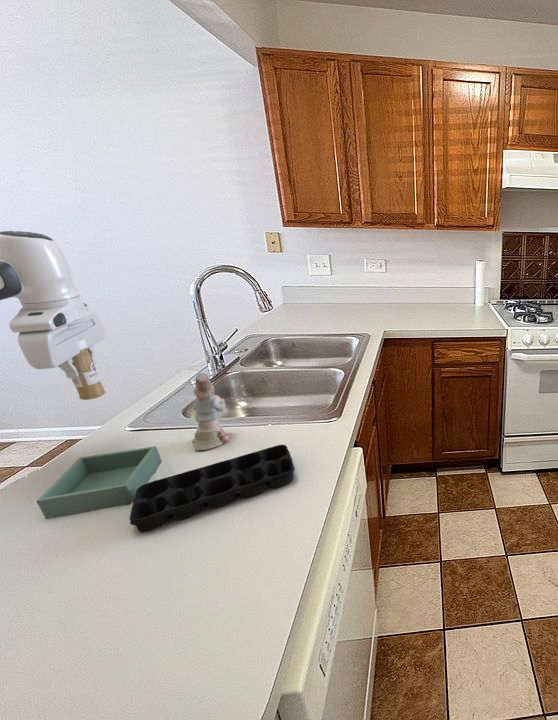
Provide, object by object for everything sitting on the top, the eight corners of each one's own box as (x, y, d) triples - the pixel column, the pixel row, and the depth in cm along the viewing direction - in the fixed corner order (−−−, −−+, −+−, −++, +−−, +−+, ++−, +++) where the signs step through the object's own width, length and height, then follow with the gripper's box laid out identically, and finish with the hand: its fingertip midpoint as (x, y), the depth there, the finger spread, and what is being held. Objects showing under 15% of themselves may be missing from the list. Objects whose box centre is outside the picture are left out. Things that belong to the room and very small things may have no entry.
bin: (45, 518, 78) (35, 501, 77) (87, 473, 91) (79, 457, 90) (133, 502, 82) (126, 485, 81) (161, 461, 95) (156, 445, 94)
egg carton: (128, 505, 82) (121, 491, 80) (278, 445, 101) (275, 433, 100) (140, 556, 70) (133, 540, 69) (307, 477, 90) (304, 464, 88)
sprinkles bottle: (106, 396, 91) (84, 341, 86) (79, 402, 88) (55, 346, 83) (105, 389, 94) (84, 336, 89) (79, 395, 91) (55, 340, 86)
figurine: (226, 448, 100) (205, 377, 92) (188, 453, 98) (164, 380, 90) (237, 430, 108) (219, 362, 100) (203, 433, 106) (181, 365, 98)
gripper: (68, 301, 91) (91, 356, 97) (1, 327, 73) (33, 393, 79) (102, 299, 93) (122, 353, 99) (44, 324, 75) (72, 389, 81)
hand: (82, 371), depth 88 cm, fingers closed on sprinkles bottle, 4 cm apart
